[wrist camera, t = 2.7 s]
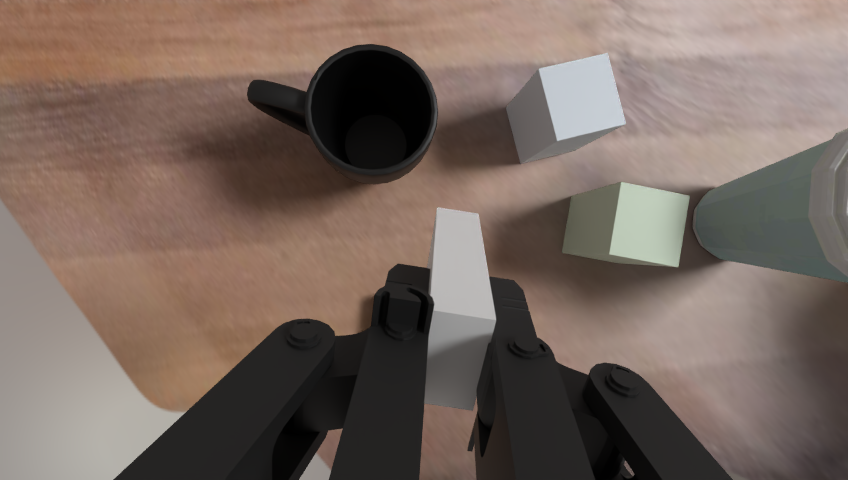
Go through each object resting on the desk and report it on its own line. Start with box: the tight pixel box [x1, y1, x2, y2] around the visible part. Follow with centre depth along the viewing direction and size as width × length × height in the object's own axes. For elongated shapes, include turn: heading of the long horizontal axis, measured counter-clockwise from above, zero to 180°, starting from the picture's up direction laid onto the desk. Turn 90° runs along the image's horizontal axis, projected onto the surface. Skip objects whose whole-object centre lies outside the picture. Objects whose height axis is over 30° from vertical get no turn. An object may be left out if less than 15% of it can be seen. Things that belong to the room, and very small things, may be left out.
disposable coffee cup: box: [692, 128, 848, 283], centre depth 31 cm, size 11×11×15 cm
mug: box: [247, 44, 438, 184], centre depth 31 cm, size 8×12×10 cm
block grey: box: [506, 53, 626, 164], centre depth 33 cm, size 5×5×8 cm
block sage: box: [562, 182, 690, 267], centre depth 33 cm, size 5×5×8 cm
